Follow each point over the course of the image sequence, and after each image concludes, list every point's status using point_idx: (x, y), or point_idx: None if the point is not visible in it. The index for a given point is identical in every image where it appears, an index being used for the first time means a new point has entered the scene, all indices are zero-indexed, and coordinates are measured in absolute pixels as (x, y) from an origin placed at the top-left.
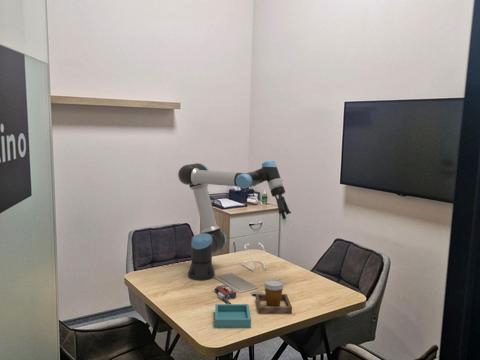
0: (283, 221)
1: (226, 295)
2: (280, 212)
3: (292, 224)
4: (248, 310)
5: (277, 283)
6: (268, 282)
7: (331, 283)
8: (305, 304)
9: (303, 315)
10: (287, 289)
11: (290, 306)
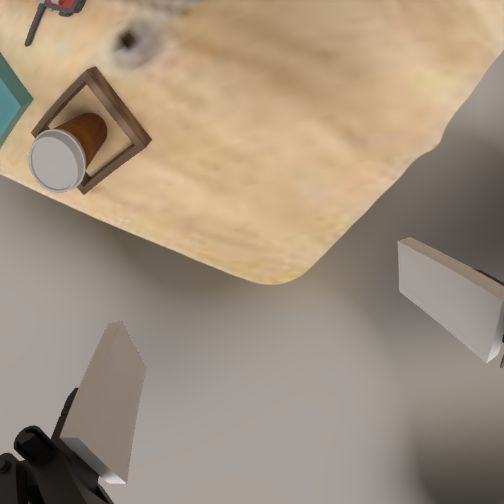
0: (96, 358)
1: (45, 6)
2: (38, 456)
3: (402, 285)
4: (3, 129)
5: (59, 174)
6: (45, 147)
7: (351, 217)
8: (158, 193)
9: (103, 209)
10: (235, 110)
11: (85, 190)
